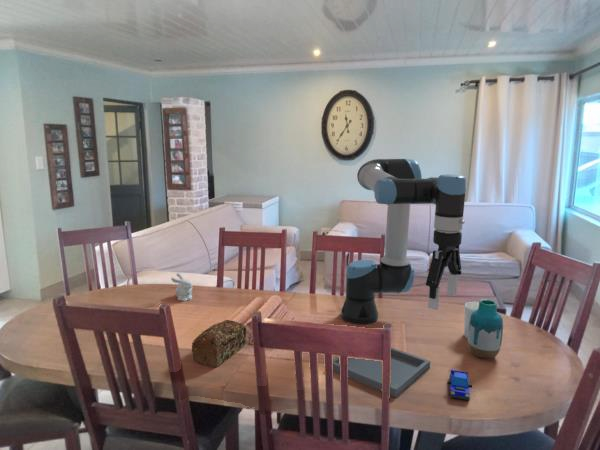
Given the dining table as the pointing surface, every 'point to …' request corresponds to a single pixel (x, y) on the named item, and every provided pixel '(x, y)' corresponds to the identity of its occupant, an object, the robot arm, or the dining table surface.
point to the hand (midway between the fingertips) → (442, 301)
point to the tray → (402, 371)
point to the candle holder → (469, 315)
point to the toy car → (459, 385)
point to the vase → (485, 330)
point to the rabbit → (183, 288)
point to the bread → (219, 343)
